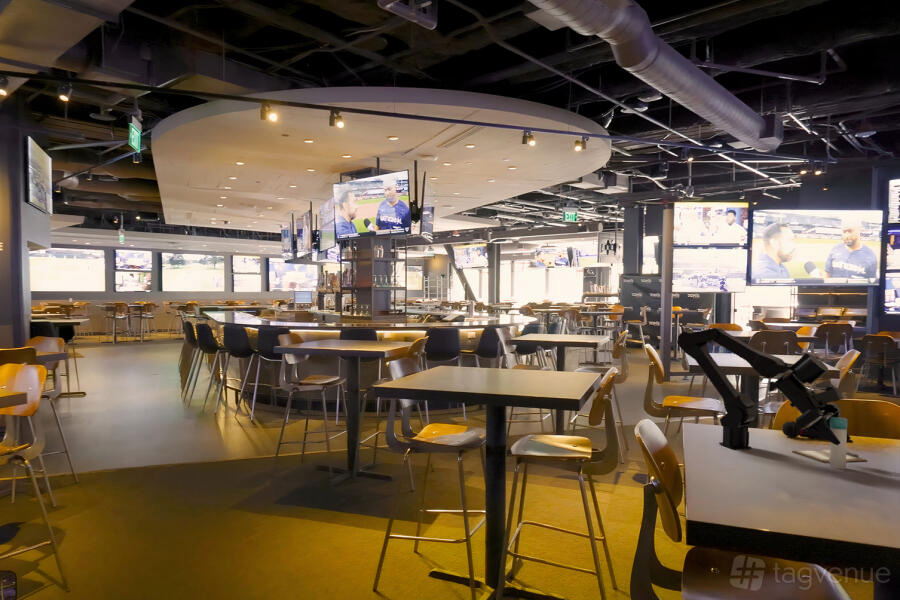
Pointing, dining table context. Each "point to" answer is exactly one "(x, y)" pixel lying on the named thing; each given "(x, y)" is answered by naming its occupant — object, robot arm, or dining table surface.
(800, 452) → the clipboard
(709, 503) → the dining table surface
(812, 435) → the microphone
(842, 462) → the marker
